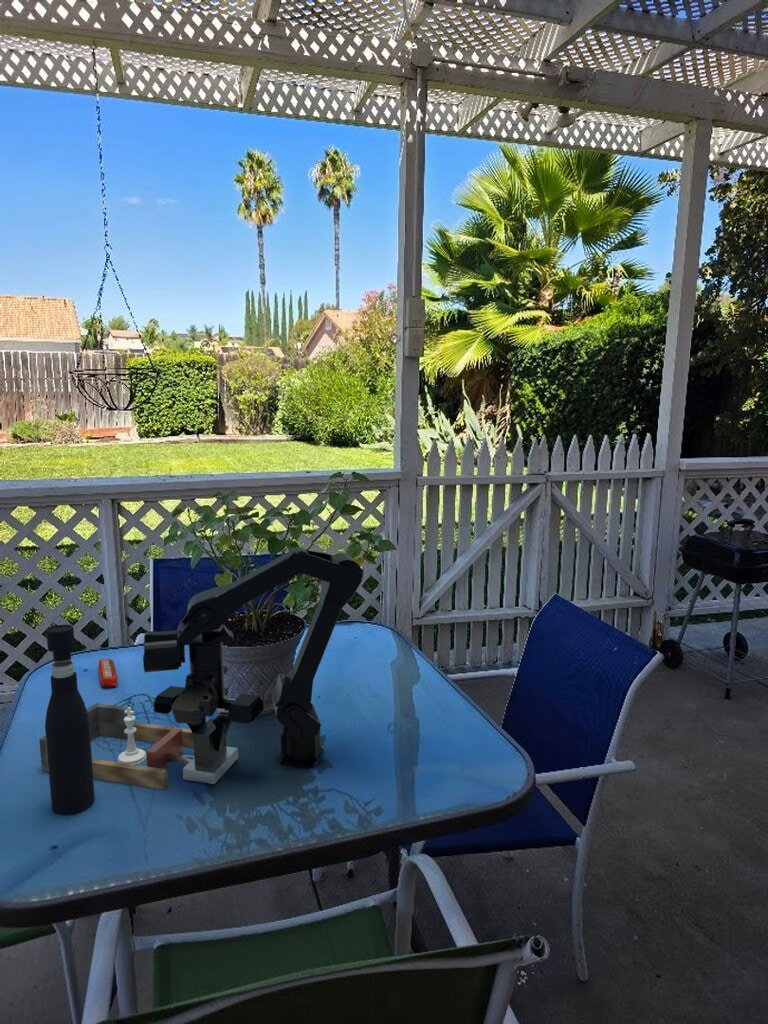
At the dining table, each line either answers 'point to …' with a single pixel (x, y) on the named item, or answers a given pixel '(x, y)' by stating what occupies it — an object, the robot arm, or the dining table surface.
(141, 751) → the chess piece
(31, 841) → the dining table surface
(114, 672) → the candy bar
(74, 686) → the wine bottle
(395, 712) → the dining table surface
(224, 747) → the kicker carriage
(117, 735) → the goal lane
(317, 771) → the dining table surface
